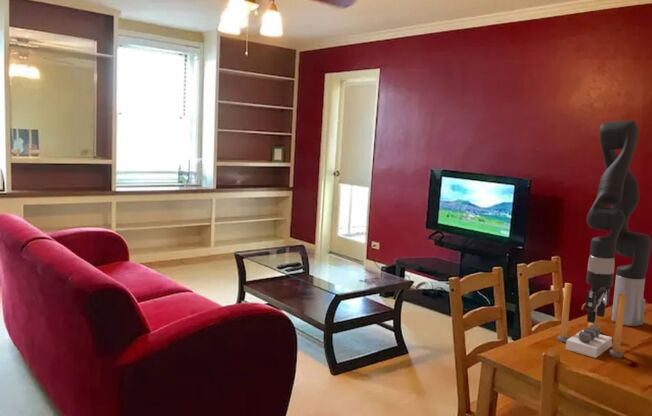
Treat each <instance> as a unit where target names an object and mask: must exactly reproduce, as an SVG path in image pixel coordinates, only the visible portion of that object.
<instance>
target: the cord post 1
mask: <svg viewBox="0 0 652 416" xmlns="http://www.w3.org/2000/svg"><path fill="white" fill-rule="evenodd" d="M572 287H573V284H572V283H569V282H565V283H564V290H563V300H562V302H563V304H562V312H561V315H562V316H561V324H560V334H559V335H557V341H558V342H559V343H563V344H565V343H566V340H567V339H569V338H570V336H568V330H569V328H568V327H569V320H570V319H569V317H570V306H571V298H572V297H571V296H572Z"/></svg>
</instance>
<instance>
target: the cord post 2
mask: <svg viewBox="0 0 652 416" xmlns="http://www.w3.org/2000/svg"><path fill="white" fill-rule="evenodd" d="M625 300H626V295H623V294H618V304H617V313H616V322H614V323H615V325H614V333H613V340H612V343H613V344H612V349H609V353H608V355H609V356H610V357H612V358H615V359H620V358H623V356H624V355H623V354H624V353H623V351H622V350H621V345H622V337H623V335H622V334H623V327H624V325H623V318H624V309H625Z"/></svg>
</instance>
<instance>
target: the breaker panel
mask: <svg viewBox="0 0 652 416" xmlns="http://www.w3.org/2000/svg"><path fill="white" fill-rule="evenodd" d="M584 330H585V329H582V330H580V331H579V332H577V333H576V334H574V335H572V336H571V337H569V339H567V340H566V344H565V350H567V351H570V352H573V353H577V354H580V355H583V356H587V357H591V358H595V359H596V358H598V357H599V356H601V355H602V354H604V352H605V351H607V350H608V349H610V348H611V347H612V345H613V344H612V343H613V337H612V336H608V335H604V334H601V333H600V335H599V336H598V337H597V336H596V337H595V339H594V340H593V339H591V341H590V342H589V343H587V342H584V341H580V340H579V333H580V332H581V331H582V332H584Z"/></svg>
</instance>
